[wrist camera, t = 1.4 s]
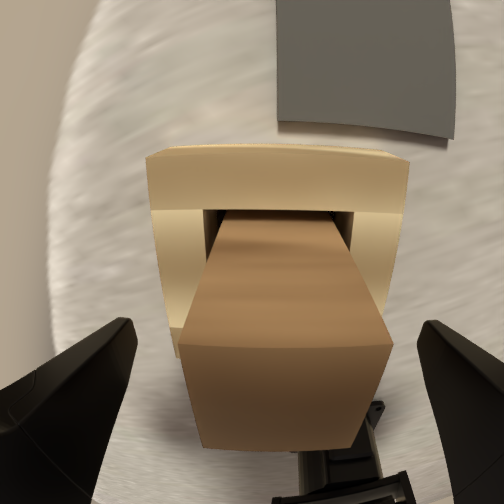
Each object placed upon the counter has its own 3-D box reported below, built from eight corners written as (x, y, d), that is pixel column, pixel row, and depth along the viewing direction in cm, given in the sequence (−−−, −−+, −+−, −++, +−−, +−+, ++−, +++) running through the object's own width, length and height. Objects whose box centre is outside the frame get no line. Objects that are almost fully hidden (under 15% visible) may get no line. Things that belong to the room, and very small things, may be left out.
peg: (315, 282, 15) (350, 447, 7) (233, 280, 15) (202, 448, 7) (322, 202, 13) (393, 344, 5) (230, 201, 14) (177, 343, 5)
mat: (448, 138, 12) (453, 139, 11) (277, 120, 12) (277, 120, 11) (442, -13, 8) (447, -16, 8) (274, -45, 8) (274, -49, 8)
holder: (356, 321, 16) (369, 360, 13) (189, 319, 16) (176, 358, 14) (380, 150, 12) (409, 162, 9) (171, 146, 13) (145, 157, 10)
